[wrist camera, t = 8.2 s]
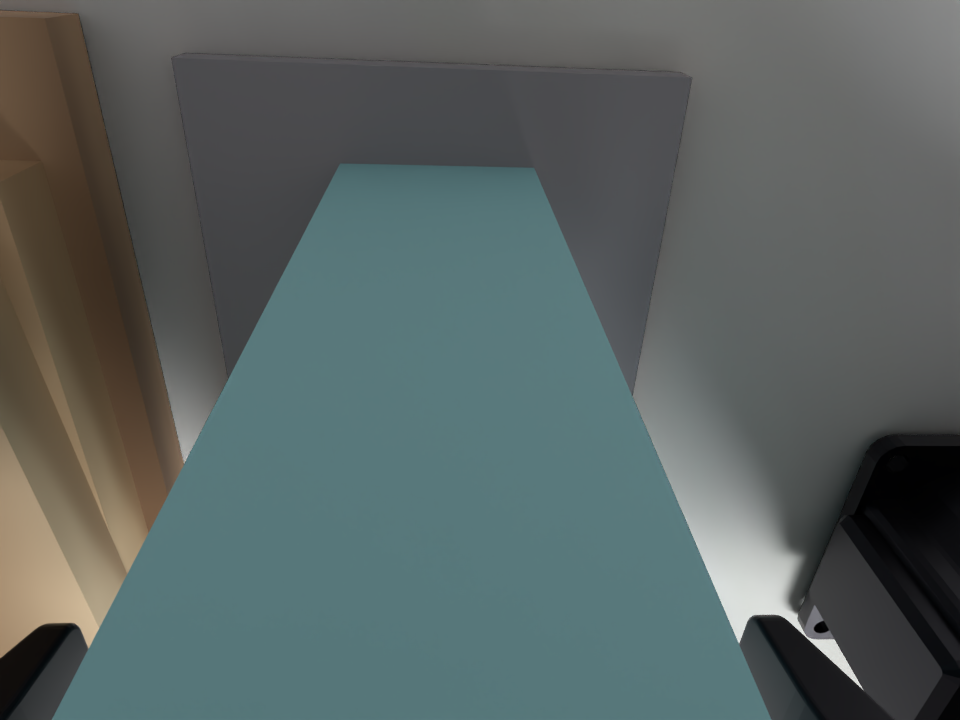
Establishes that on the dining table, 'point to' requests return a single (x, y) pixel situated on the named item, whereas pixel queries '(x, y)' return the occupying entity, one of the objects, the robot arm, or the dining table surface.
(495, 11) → the dining table surface
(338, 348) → the teal panel
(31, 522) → the oak offcut slats
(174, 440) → the walnut rack
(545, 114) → the grey rubber mat
